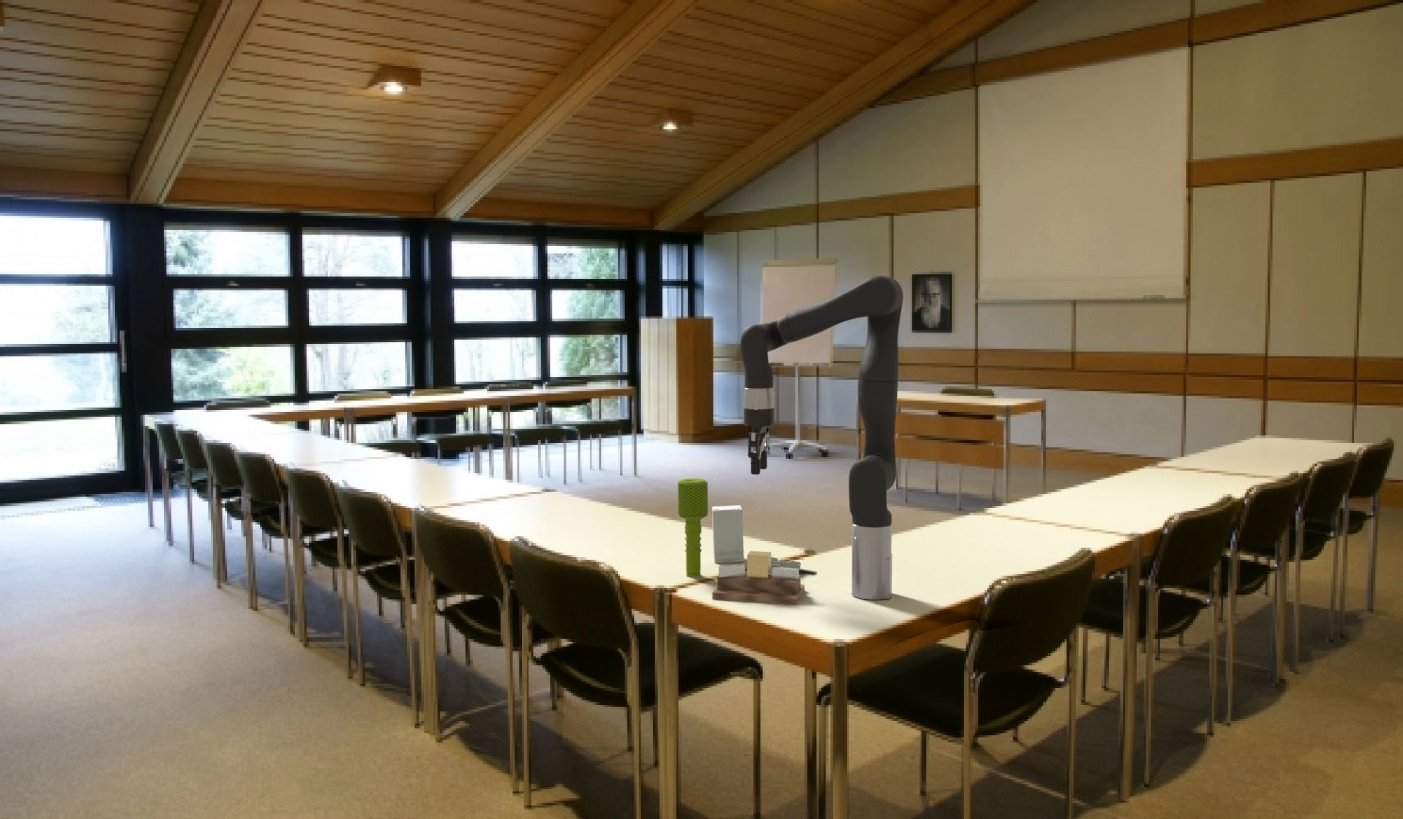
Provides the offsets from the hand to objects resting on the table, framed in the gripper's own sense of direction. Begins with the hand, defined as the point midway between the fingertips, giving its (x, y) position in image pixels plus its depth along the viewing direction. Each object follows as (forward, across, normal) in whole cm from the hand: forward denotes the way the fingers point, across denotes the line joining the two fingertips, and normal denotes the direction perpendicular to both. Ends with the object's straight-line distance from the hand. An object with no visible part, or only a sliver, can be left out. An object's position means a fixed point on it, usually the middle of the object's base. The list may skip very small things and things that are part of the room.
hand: (759, 471), depth 249 cm
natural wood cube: (+24, +10, +2) cm, 26 cm away
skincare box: (+28, -21, -13) cm, 38 cm away
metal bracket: (+29, -11, +3) cm, 31 cm away
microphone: (+28, -4, -18) cm, 34 cm away
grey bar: (+24, +11, +2) cm, 26 cm away
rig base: (+28, +10, +2) cm, 30 cm away
